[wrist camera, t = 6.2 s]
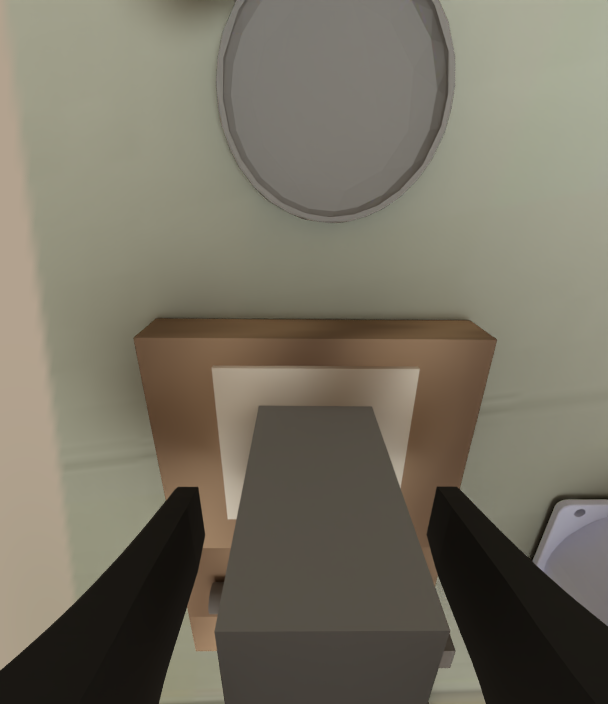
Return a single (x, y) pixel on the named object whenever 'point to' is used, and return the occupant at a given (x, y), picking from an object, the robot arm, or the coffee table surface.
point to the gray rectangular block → (326, 570)
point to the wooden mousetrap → (306, 390)
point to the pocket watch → (335, 99)
